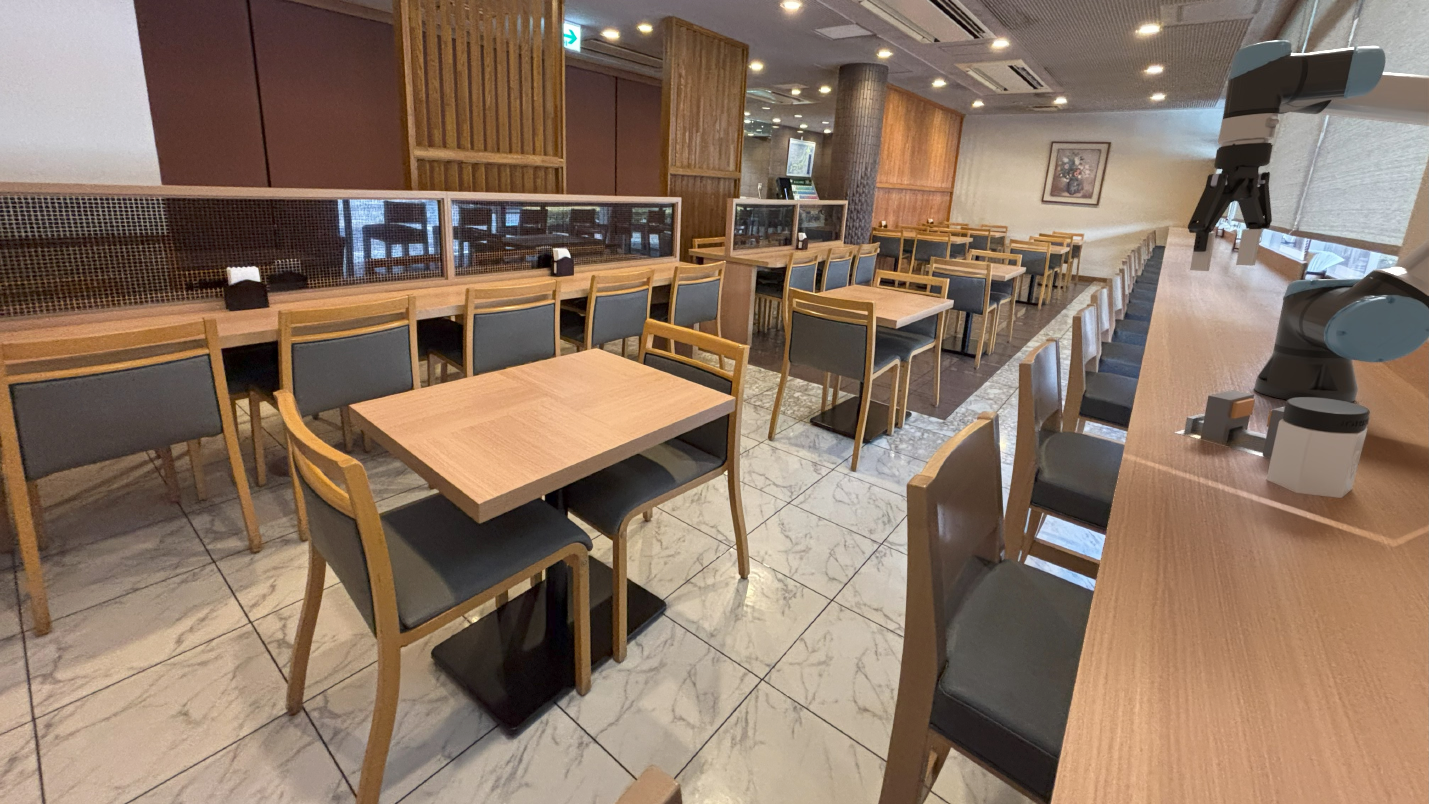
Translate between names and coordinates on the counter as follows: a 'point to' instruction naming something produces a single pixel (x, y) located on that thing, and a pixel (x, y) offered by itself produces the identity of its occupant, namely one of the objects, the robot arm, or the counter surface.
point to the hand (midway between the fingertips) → (1222, 268)
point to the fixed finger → (1272, 429)
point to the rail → (1236, 437)
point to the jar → (1318, 446)
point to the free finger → (1226, 414)
